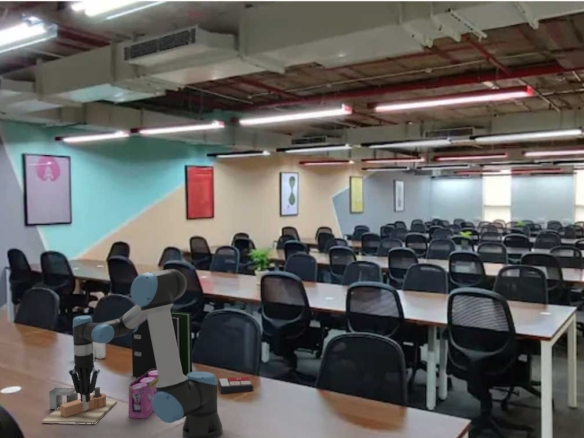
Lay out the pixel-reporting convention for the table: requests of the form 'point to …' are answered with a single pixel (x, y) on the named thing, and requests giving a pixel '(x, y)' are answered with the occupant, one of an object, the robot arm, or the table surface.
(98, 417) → the plate
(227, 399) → the table surface
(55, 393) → the keeper
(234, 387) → the calculator
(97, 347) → the cable organizer
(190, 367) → the binder
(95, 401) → the link
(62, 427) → the table surface
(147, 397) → the gum box
